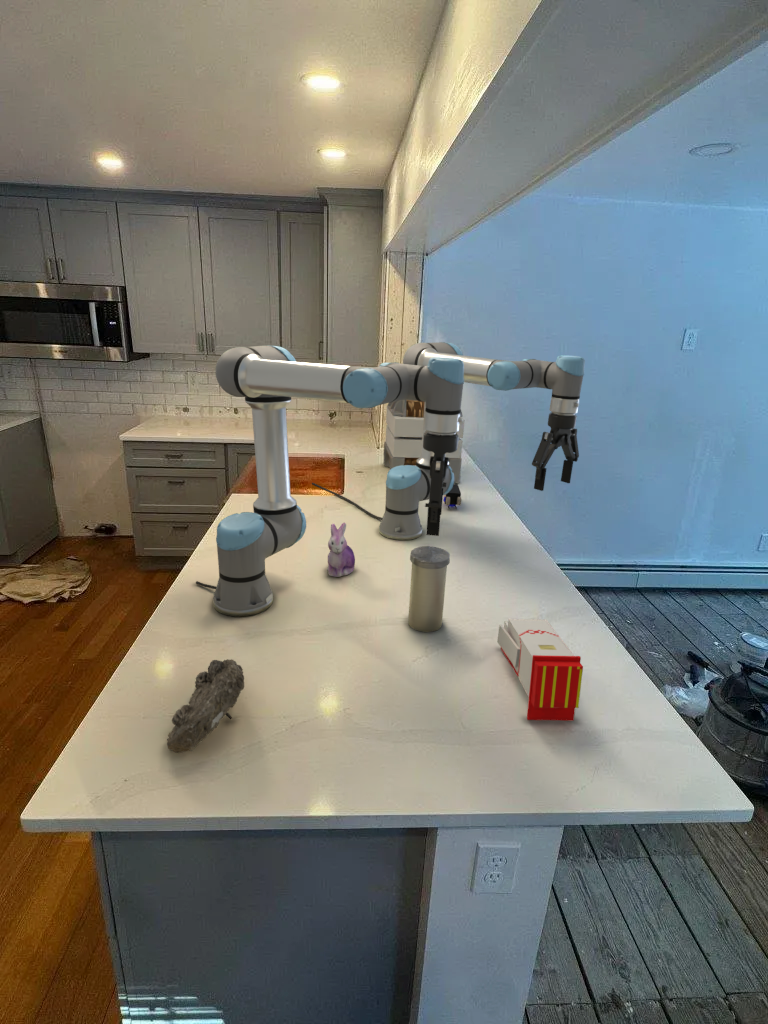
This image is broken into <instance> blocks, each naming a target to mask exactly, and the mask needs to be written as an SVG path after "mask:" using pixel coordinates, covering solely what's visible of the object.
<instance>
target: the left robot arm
mask: <svg viewBox="0 0 768 1024" xmlns="http://www.w3.org/2000/svg"><path fill="white" fill-rule="evenodd" d="M215 377H216V381H217V383H218V385H219V387H220V388H221V389H222V390H223V391H224V392H225V393H227V394H228V395H229V396H232V397H235V398H244V402H245V403H246V404H247V405H248V406H249V407H250V408H251V415H252V430H253V441H254V442H253V443H254V457H255V470H256V482H257V483H256V484H257V498H256V499H255V500H254V502H253V503H252V508H253V509H252V510H253V511H252V512H251V511H242V512H240V513H238V512H236V513H232V514H229V515H227V516H226V517H224V518H223V519H221V520H220V522H219V523H218V524H217V526H216V537H215V543H216V550H217V563H218V579H217V584H216V585H211V584H207V583H203V582H201V581H198V580H196V581H195V584H196V585H199V586H201V587H204V588H209V589H212V590H214V593H213V598H212V599H213V608H214V609H215V611H217V612H219V613H220V614H222V615H226V616H228V617H229V616H230V617H247V616H253V615H257V614H260V613H262V612H264V611H266V610H268V609H269V608H270V607H271V606H272V605H273V602H274V593H273V589H272V587H271V585H270V582H269V580H268V578H267V575H266V559H267V558H270V557H272V556H273V555H275V554H278V553H280V552H281V551H283V550H285V549H289V548H291V547H292V546H294V545H295V544H297V543H298V542H300V540H302V538H303V537H304V535H305V533H306V530H307V519H306V515H305V513H304V512H302V508H301V507H300V506H299V505H298V501H297V500H296V499H295V498H294V497H293V496H292V495H291V493H292V492H291V478H290V477H291V475H290V462H289V461H290V460H289V459H290V457H289V443H288V442H289V441H288V440H289V439H288V422H287V406H288V405H289V404H290V403H291V402H292V398H295V399H305V400H315V401H326V402H335V403H343V404H350V405H351V406H352V407H354V408H357V409H373V408H375V407H377V406H382V405H385V404H388V403H390V402H395V401H399V400H413V401H420V402H426V408H425V418H424V429H425V430H426V432H425V433H424V437H423V448H424V449H425V450H427V451H429V452H433V453H434V456H431V457H430V478H431V485H430V497H429V499H428V502H425V503H424V504H425V506H424V507H425V508H427V520H426V521H427V522H426V533H425V534H426V536H434V537H439V536H440V527H441V525H440V524H441V515H442V511H443V510H442V509H443V499H444V495H443V488H442V487H446V483H444V482H443V481H444V479H445V476H446V469H447V467H448V457H445V453H452V452H455V451H456V450H457V448H458V437H459V436H458V434H457V433H456V432H458V431H459V422H462V421H463V419H464V418H463V417H461V418H459V417H460V412H462V401H463V400H462V399H463V390H464V384H465V382H464V363H463V361H462V360H460V359H457V358H448V357H447V358H446V357H432V358H430V359H429V362H428V365H427V366H418V365H409V364H403V363H400V362H396V361H395V362H382V363H380V364H379V365H378V366H358V365H356V366H355V365H343V364H341V365H340V364H331V363H330V364H328V363H315V362H303V361H301V362H300V361H297V360H296V358H295V356H294V355H292V353H291V352H290V351H289V350H288V349H287V348H284V347H282V346H279V345H270V344H266V345H255V346H253V345H252V346H237V347H232V348H229V349H228V350H225V351H224V352H223V353H222V354H221V355H220V356H219V358H218V359H217V361H216V365H215Z"/></svg>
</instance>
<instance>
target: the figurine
mask: <svg viewBox="0 0 768 1024" xmlns="http://www.w3.org/2000/svg"><path fill="white" fill-rule="evenodd" d="M346 529H347V523H346V522H342V523H341V525H340V526H339V528H337V526H336V524H335V523H331V524H330V538H329V539H328V543H327V547H328V548H329V550H330V551H329V552H328V554H327V565H328V566H327V572H328V576H330V577H335V578H337V577H338V578H340V577H342V576H347V575H350V574H351V573H352V572H354V570H355V565H356V556H355V551H354V550H353V549H352V547H351V546H349V545H348V541H347V539H346V537H345V532H346Z"/></svg>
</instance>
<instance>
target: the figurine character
mask: <svg viewBox="0 0 768 1024" xmlns="http://www.w3.org/2000/svg"><path fill="white" fill-rule="evenodd" d="M442 502H444V504H445V506H447V509H448V510H451V508H453V507H454V510H457V509H458V507H459V506H461V505H462V492H461V490H460V486H459V483H454V484H453V487H452V489H451V490H450V491H449V492H448V493H447V494H445V495H443V499H442ZM450 507H451V508H450Z"/></svg>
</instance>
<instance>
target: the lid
mask: <svg viewBox="0 0 768 1024" xmlns="http://www.w3.org/2000/svg"><path fill="white" fill-rule="evenodd" d="M450 558H451V554H450V552H449V551H447V550H446V549H444V548H441V547H437V546H430V545H424V546H418V547H415V548H413V549H412V550H410V555H409V560H410V563H411V564H412V563H413V564H414V565H416V566H418V567H422V568H426V569H439V568H443V567H446V566H447V567H448V565H449V564H450V560H451V559H450Z"/></svg>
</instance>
